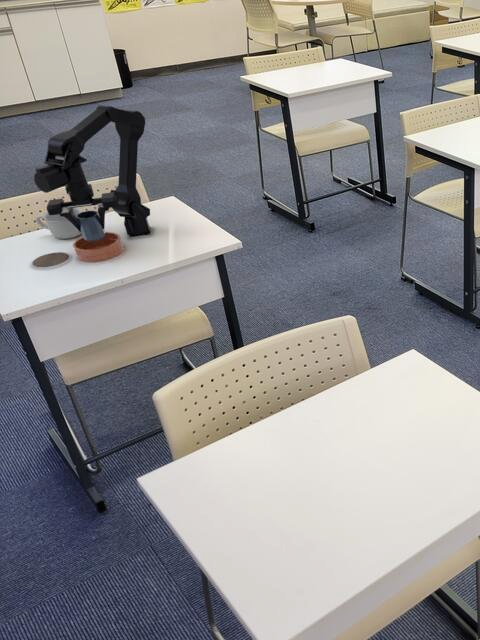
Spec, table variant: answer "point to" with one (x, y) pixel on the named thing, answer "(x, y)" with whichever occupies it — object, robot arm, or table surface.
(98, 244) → the bowl
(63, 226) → the teacup
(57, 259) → the coaster
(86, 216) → the cup
